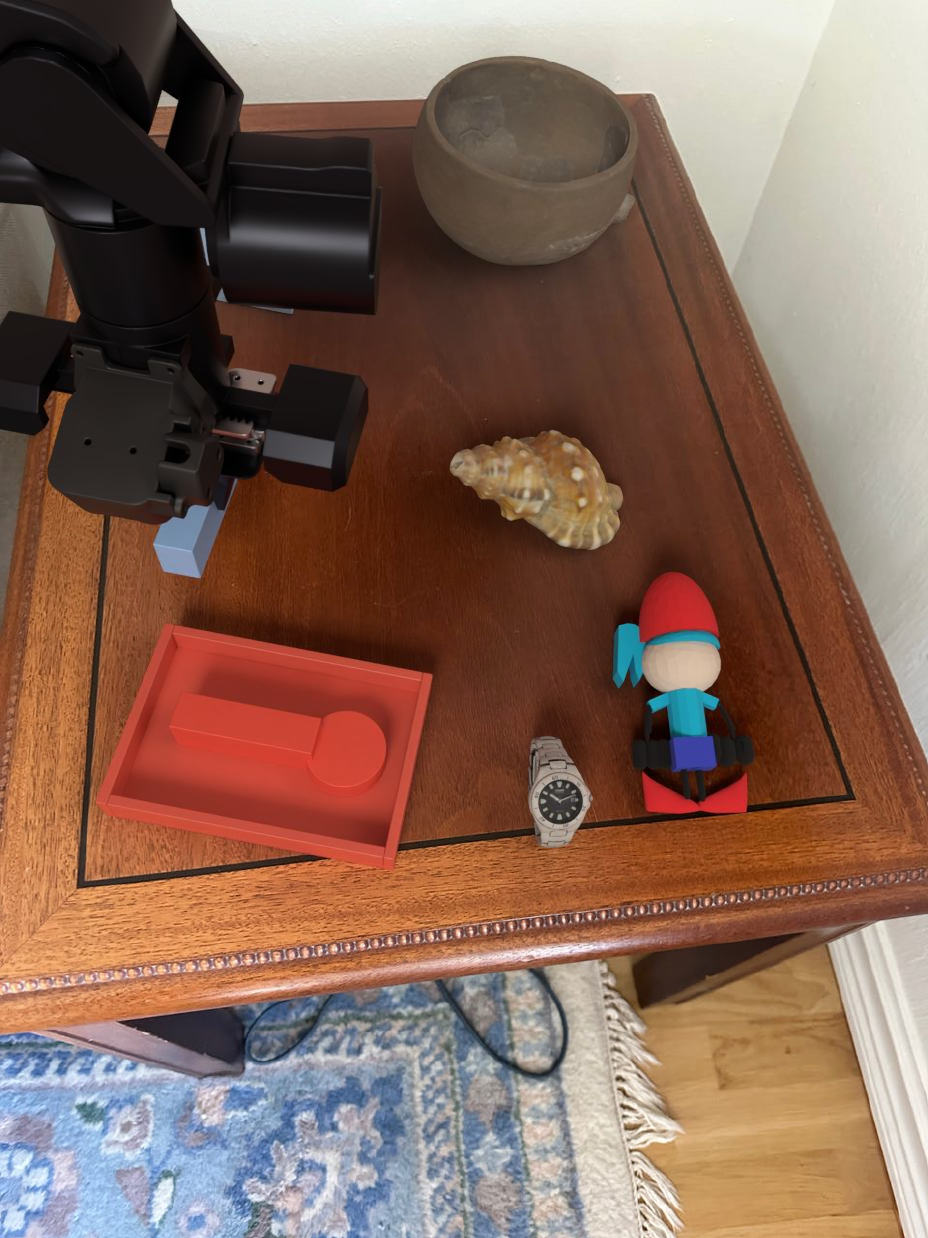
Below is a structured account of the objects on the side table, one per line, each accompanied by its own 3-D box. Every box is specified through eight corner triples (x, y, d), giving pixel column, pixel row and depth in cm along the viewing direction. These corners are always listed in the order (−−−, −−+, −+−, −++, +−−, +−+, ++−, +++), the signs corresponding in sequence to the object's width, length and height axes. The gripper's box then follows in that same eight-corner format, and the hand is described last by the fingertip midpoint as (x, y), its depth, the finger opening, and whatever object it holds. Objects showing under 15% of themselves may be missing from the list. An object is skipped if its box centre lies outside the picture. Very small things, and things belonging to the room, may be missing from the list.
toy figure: (749, 815, 55) (715, 585, 60) (776, 804, 50) (737, 556, 55) (625, 821, 54) (601, 590, 59) (641, 810, 50) (614, 560, 55)
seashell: (524, 598, 63) (464, 517, 55) (493, 517, 68) (434, 432, 60) (645, 537, 61) (602, 445, 53) (604, 458, 66) (559, 363, 58)
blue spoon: (221, 583, 51) (213, 555, 49) (142, 568, 51) (130, 540, 49) (277, 426, 57) (273, 395, 55) (206, 413, 57) (198, 381, 55)
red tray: (106, 815, 50) (94, 802, 48) (172, 640, 55) (165, 622, 53) (393, 870, 50) (394, 860, 48) (430, 690, 55) (433, 673, 53)
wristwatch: (522, 856, 51) (535, 830, 46) (511, 752, 54) (523, 719, 49) (583, 853, 51) (602, 827, 47) (569, 750, 54) (586, 717, 50)
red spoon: (170, 764, 51) (160, 746, 49) (196, 692, 53) (187, 671, 51) (376, 804, 51) (376, 788, 49) (393, 730, 53) (394, 711, 51)
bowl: (654, 234, 79) (689, 123, 70) (520, 330, 71) (540, 220, 63) (508, 139, 83) (524, 24, 75) (368, 220, 76) (368, 103, 68)
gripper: (-166, 375, 35) (-15, 585, 48) (306, 464, 35) (326, 650, 48) (-39, 197, 40) (65, 431, 54) (370, 273, 40) (371, 488, 54)
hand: (202, 500), depth 52 cm, fingers closed on blue spoon, 2 cm apart
